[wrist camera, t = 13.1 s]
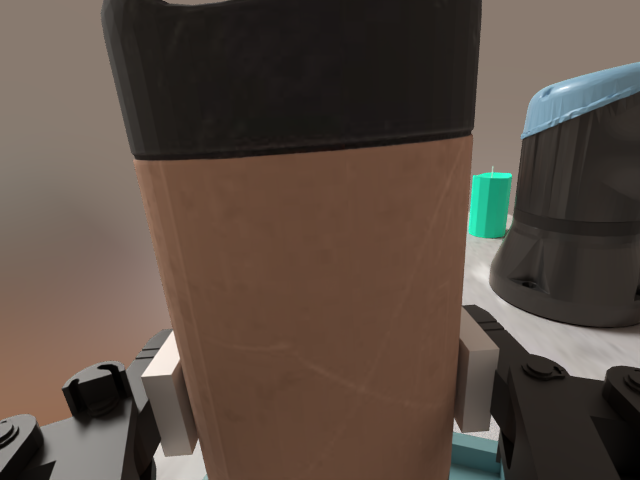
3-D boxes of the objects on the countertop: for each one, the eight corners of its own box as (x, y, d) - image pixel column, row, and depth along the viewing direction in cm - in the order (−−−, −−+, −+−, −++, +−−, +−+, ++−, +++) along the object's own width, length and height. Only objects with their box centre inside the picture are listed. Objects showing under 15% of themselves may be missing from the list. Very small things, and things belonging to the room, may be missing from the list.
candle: (495, 227, 62) (502, 163, 58) (511, 237, 56) (520, 166, 52) (463, 228, 62) (468, 165, 58) (476, 238, 56) (482, 169, 53)
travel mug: (353, 457, 18) (333, 68, 12) (479, 611, 12) (575, -12, 6) (221, 554, 15) (91, 57, 8) (311, 848, 8) (76, -204, 2)
